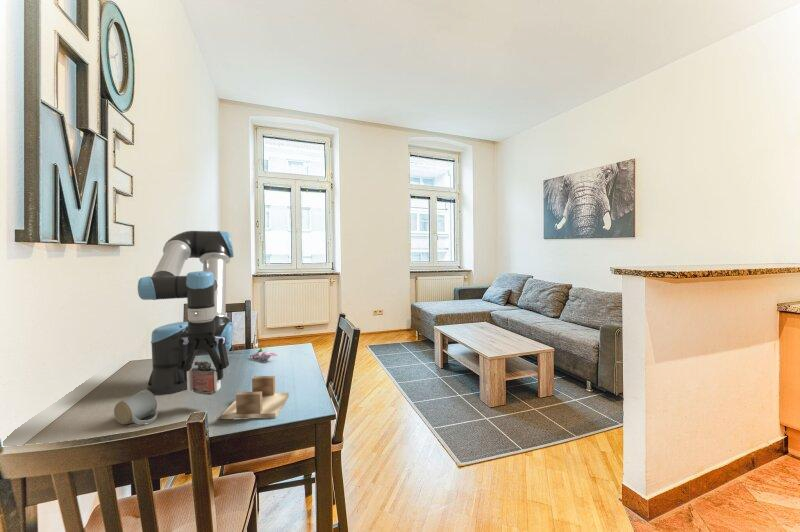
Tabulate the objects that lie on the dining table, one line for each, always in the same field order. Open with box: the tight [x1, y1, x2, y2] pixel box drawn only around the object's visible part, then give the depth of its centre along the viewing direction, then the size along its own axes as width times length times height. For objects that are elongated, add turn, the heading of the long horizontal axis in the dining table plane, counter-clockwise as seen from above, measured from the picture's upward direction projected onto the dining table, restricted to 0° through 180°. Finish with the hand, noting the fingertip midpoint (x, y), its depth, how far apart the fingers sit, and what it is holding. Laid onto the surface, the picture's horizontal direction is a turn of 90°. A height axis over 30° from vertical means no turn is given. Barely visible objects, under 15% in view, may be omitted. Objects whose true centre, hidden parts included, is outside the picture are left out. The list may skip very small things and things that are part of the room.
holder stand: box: [220, 375, 290, 420], centre depth 111 cm, size 16×15×8 cm
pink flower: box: [249, 347, 278, 361], centre depth 159 cm, size 6×6×15 cm
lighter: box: [192, 360, 217, 396], centre depth 111 cm, size 8×3×10 cm, turn 71°
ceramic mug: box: [113, 389, 158, 426], centre depth 103 cm, size 11×8×8 cm
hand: (204, 389), depth 111 cm, fingers closed on lighter, 8 cm apart
